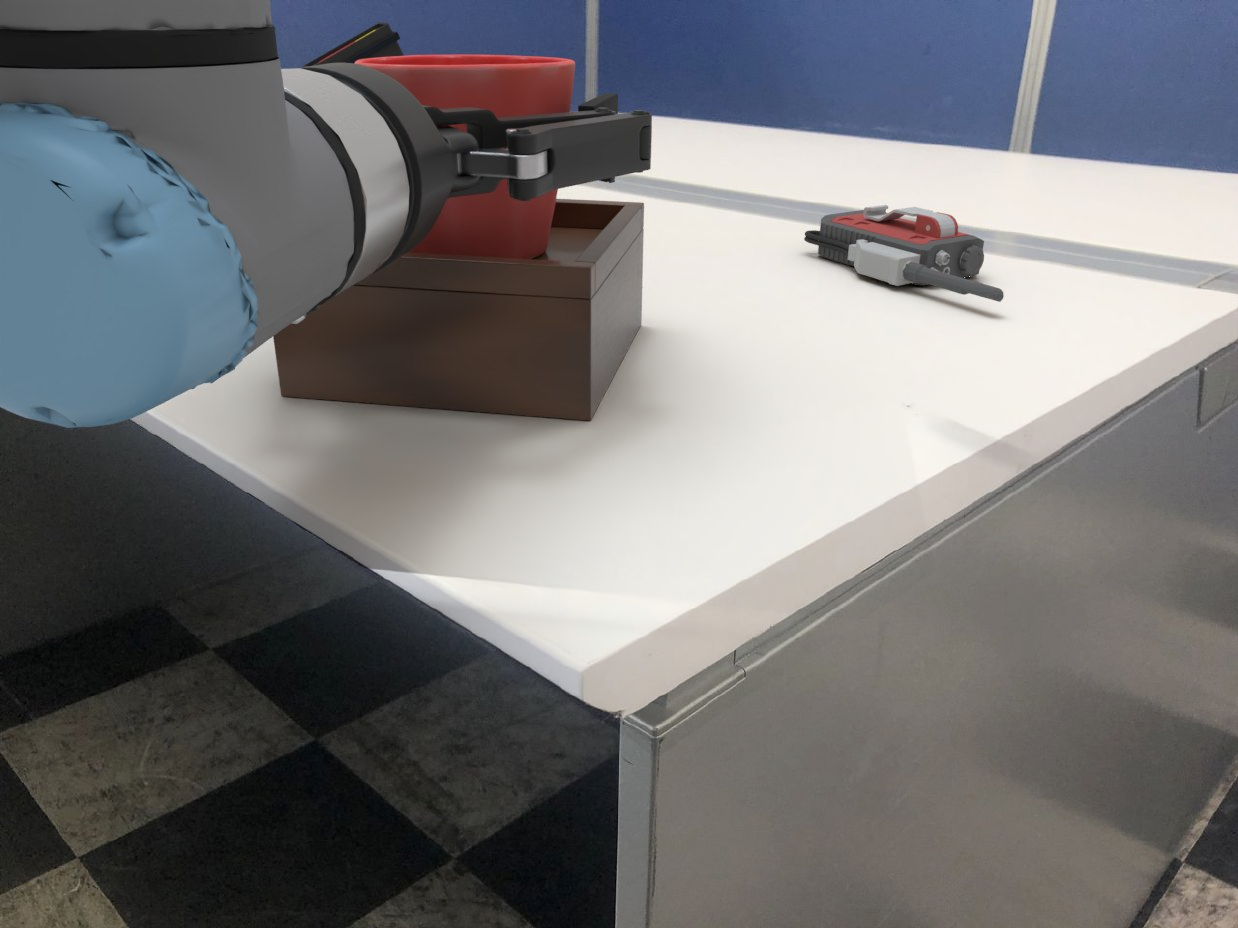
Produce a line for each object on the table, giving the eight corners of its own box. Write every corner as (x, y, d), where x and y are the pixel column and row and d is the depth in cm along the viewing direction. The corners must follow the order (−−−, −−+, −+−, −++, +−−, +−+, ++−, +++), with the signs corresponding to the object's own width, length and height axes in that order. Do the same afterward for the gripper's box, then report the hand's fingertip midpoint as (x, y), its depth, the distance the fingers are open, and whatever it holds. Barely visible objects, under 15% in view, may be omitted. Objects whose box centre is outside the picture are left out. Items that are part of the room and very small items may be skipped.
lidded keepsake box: (280, 396, 52) (260, 249, 49) (396, 309, 66) (387, 190, 63) (590, 421, 49) (591, 267, 46) (641, 324, 64) (644, 202, 61)
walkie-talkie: (781, 255, 81) (987, 320, 65) (785, 199, 79) (998, 251, 64) (861, 243, 85) (1072, 301, 70) (867, 189, 83) (1085, 236, 68)
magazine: (451, 141, 126) (392, 22, 117) (362, 197, 122) (294, 78, 113) (438, 138, 128) (380, 20, 119) (351, 192, 125) (284, 76, 116)
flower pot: (381, 231, 59) (365, 51, 55) (569, 229, 61) (568, 52, 56) (359, 277, 50) (339, 64, 46) (584, 274, 51) (583, 65, 47)
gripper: (24, 266, 40) (280, 177, 59) (659, 306, 36) (713, 197, 55) (-24, 59, 37) (262, 36, 56) (666, 79, 33) (721, 47, 52)
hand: (487, 116), depth 55 cm, fingers open, 13 cm apart
